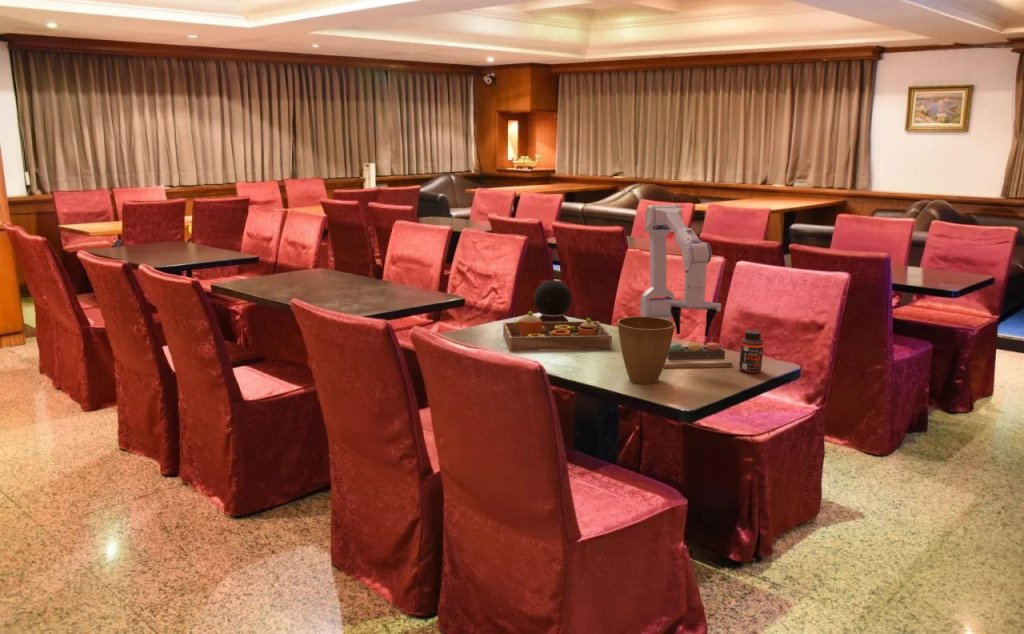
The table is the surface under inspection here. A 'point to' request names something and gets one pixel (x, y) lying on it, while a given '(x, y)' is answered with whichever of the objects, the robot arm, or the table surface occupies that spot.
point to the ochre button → (693, 347)
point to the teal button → (675, 347)
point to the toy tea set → (532, 327)
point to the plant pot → (645, 346)
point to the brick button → (712, 346)
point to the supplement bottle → (751, 352)
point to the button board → (696, 358)
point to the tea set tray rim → (556, 338)
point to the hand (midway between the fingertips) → (692, 334)
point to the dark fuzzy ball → (552, 301)
